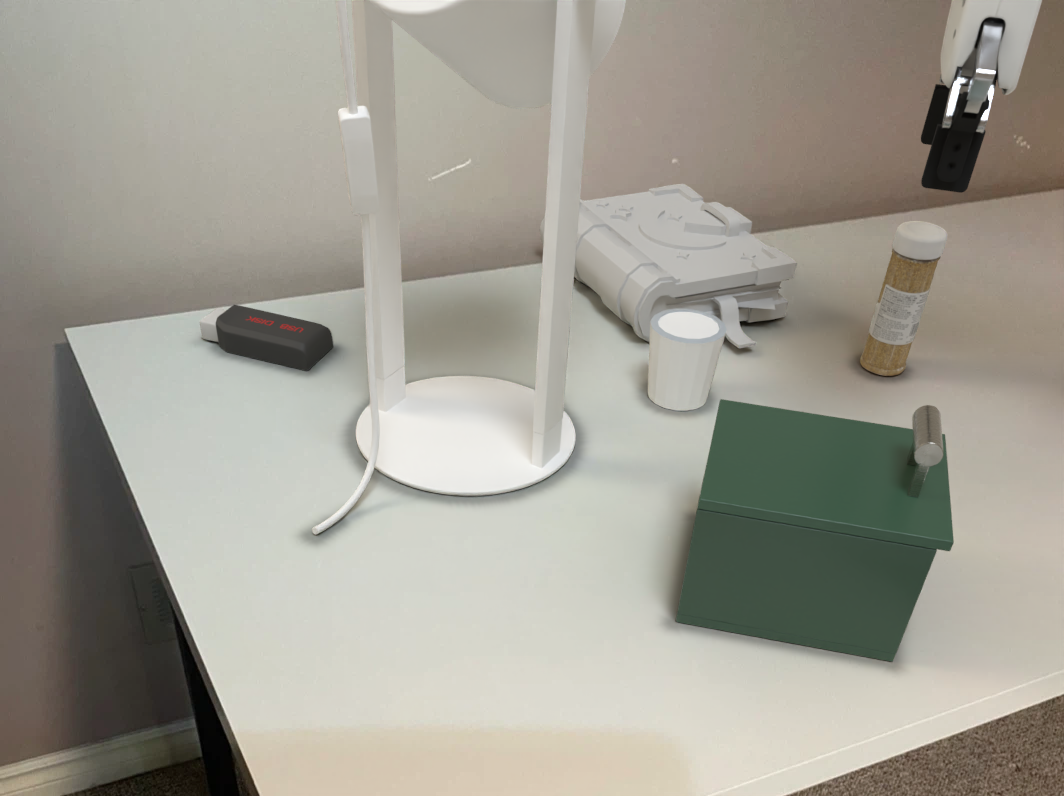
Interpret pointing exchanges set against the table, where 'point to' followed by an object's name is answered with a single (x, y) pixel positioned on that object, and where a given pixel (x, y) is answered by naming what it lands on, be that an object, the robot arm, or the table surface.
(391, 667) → the table surface
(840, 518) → the lid
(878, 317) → the sprinkles bottle
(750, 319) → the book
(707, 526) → the green box
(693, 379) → the white cup
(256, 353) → the usb drive
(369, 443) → the desk lamp
